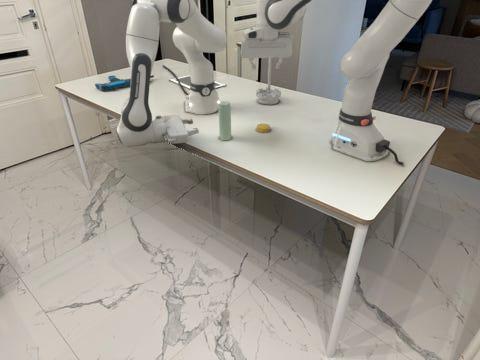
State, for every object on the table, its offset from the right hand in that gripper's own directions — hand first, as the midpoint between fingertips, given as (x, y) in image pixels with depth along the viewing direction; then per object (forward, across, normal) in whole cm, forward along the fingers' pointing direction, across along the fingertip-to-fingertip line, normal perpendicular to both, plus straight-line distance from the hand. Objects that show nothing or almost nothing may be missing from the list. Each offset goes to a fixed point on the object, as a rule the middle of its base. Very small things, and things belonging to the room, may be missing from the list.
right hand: (265, 68), depth 136 cm
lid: (+25, 0, 0) cm, 25 cm away
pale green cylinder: (+27, +17, +7) cm, 32 cm away
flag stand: (+27, -8, -36) cm, 45 cm away
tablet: (+27, +31, -71) cm, 82 cm away
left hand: (+19, +29, +10) cm, 36 cm away
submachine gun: (+27, +76, -75) cm, 110 cm away
